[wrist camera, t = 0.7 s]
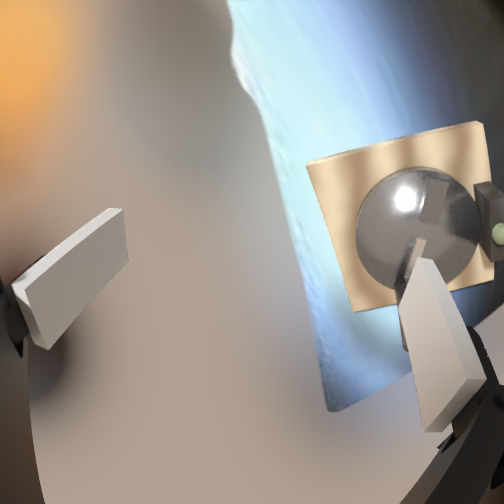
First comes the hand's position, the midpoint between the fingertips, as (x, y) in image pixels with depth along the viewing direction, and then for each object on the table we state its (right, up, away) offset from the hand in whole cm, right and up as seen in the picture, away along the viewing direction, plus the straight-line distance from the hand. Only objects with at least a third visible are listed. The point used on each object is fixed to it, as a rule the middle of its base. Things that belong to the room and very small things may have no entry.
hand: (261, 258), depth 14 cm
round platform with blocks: (+20, +3, +22) cm, 30 cm away
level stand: (+20, +4, +24) cm, 31 cm away
